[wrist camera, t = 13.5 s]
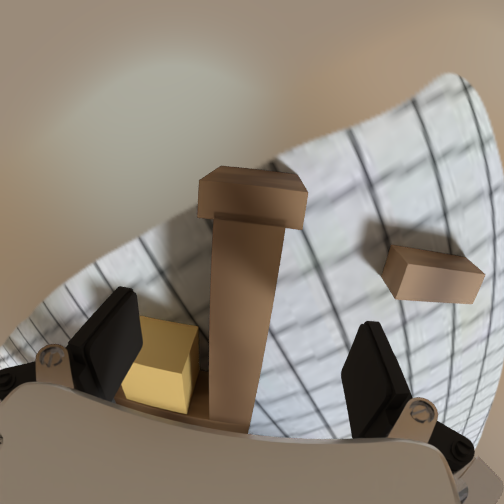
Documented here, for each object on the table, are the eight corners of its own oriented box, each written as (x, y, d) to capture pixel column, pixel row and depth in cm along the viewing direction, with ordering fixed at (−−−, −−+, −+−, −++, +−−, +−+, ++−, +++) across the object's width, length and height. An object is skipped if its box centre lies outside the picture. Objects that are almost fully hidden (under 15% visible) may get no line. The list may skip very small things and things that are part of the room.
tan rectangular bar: (464, 256, 17) (485, 274, 14) (454, 283, 18) (472, 304, 15) (389, 243, 17) (408, 263, 14) (380, 275, 18) (395, 299, 15)
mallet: (297, 174, 15) (308, 192, 11) (258, 398, 24) (254, 442, 19) (111, 161, 16) (62, 175, 11) (139, 376, 24) (121, 414, 19)
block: (198, 325, 21) (181, 373, 16) (199, 368, 23) (186, 414, 18) (138, 314, 21) (112, 356, 16) (146, 357, 23) (126, 398, 18)
